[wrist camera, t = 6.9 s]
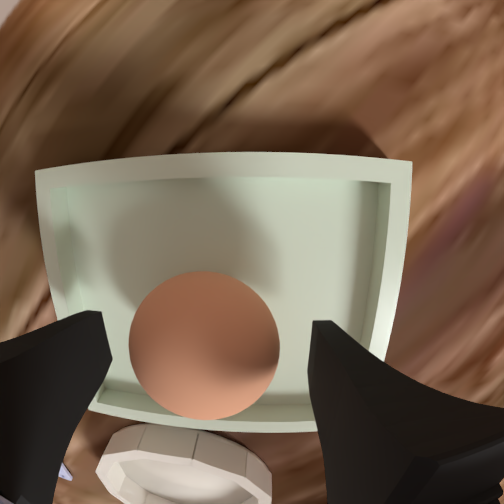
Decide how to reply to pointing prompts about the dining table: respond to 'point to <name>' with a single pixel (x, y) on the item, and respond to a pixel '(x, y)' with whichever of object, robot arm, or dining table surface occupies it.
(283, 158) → the tray
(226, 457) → the dish
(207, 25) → the dining table surface
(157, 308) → the ball
